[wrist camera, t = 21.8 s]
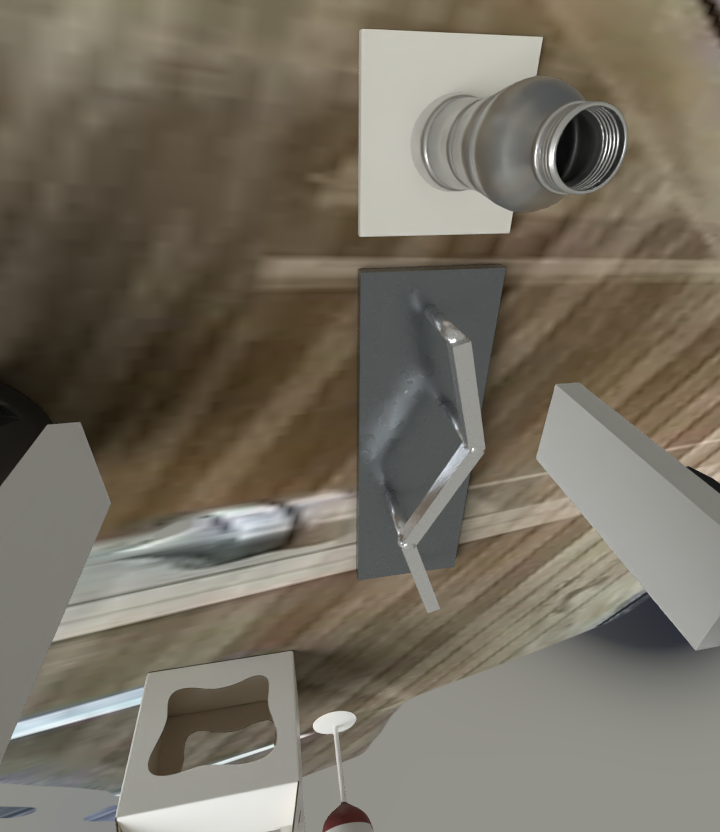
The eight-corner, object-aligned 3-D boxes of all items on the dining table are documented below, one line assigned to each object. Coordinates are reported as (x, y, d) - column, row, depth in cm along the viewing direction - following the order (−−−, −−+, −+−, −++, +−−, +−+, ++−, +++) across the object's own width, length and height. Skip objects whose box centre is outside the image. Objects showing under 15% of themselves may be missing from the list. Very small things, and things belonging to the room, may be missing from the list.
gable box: (164, 716, 75) (116, 981, 51) (145, 672, 68) (81, 955, 44) (299, 693, 78) (312, 931, 55) (294, 649, 71) (307, 900, 48)
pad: (358, 234, 40) (360, 236, 40) (359, 31, 33) (361, 28, 32) (504, 231, 42) (509, 233, 42) (536, 39, 35) (542, 37, 34)
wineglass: (324, 707, 82) (340, 873, 64) (367, 713, 86) (395, 871, 67) (301, 732, 85) (310, 896, 67) (344, 736, 89) (364, 893, 71)
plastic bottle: (440, 73, 34) (605, 12, 18) (497, 137, 37) (685, 137, 21) (387, 151, 36) (490, 162, 20) (445, 206, 39) (578, 256, 23)
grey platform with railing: (356, 571, 64) (369, 636, 56) (357, 268, 42) (380, 302, 34) (450, 558, 66) (477, 619, 58) (499, 263, 44) (553, 293, 36)
